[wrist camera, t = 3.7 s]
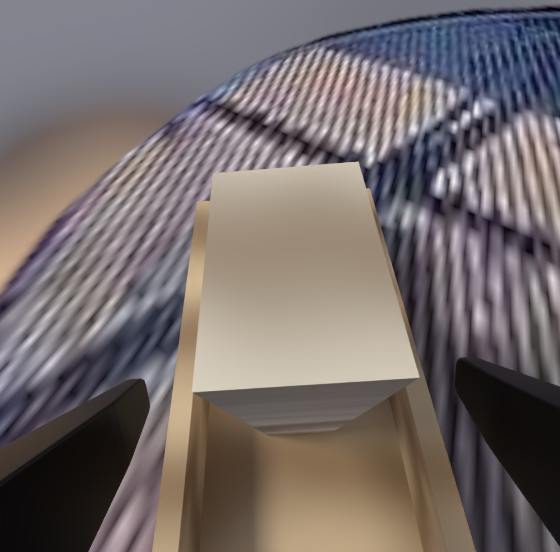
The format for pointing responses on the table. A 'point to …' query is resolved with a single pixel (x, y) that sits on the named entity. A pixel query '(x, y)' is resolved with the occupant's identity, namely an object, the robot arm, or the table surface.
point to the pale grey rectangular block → (297, 302)
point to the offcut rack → (303, 467)
